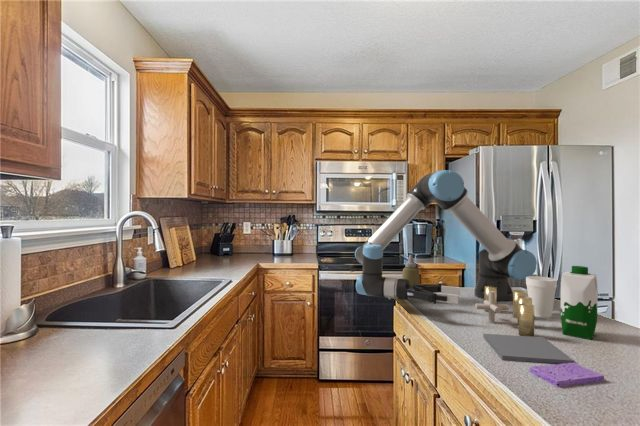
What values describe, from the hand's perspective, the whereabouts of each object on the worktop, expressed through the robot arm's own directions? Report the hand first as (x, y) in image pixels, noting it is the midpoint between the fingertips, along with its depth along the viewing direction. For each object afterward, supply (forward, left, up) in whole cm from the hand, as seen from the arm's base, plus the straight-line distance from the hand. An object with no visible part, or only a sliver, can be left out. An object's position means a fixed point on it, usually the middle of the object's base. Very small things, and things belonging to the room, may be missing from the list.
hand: (459, 295), depth 120 cm
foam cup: (-30, -10, -8) cm, 32 cm away
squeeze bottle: (+14, -29, -8) cm, 33 cm away
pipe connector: (-10, +2, -8) cm, 13 cm away
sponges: (-14, +41, -9) cm, 44 cm away
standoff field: (-17, +2, -8) cm, 19 cm away
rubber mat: (-11, +26, -8) cm, 30 cm away
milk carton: (-32, +10, -8) cm, 34 cm away
